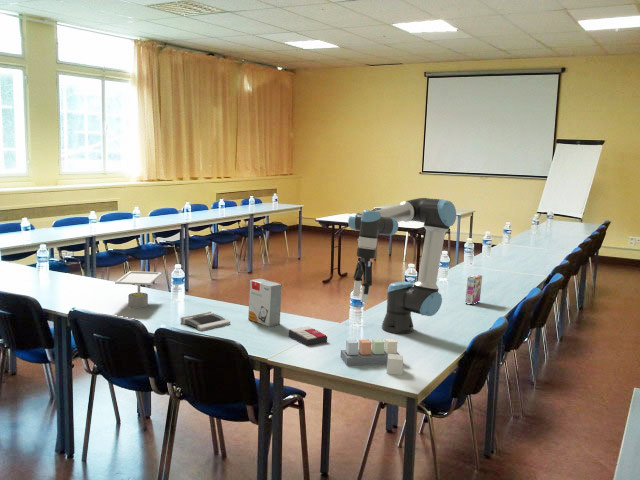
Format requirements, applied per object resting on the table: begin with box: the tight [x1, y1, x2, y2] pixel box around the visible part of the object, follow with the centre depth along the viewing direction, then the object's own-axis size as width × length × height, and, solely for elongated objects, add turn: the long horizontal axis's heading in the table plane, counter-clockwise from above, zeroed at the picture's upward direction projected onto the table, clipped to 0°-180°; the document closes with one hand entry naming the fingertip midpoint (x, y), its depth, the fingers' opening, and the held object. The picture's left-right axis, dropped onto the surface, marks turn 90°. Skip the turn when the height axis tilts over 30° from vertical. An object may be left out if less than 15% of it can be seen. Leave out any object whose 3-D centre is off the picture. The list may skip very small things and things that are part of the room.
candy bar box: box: [465, 274, 483, 304], centre depth 353 cm, size 11×5×16 cm, turn 144°
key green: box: [371, 338, 385, 354], centre depth 246 cm, size 4×4×5 cm
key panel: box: [340, 348, 401, 366], centre depth 246 cm, size 23×10×3 cm, turn 102°
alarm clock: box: [180, 311, 231, 332], centre depth 286 cm, size 17×5×16 cm
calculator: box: [288, 325, 328, 346], centre depth 270 cm, size 11×4×15 cm
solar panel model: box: [114, 270, 163, 309], centre depth 313 cm, size 28×17×15 cm, turn 2°
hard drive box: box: [247, 278, 283, 327], centre depth 293 cm, size 16×8×20 cm, turn 47°
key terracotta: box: [358, 339, 372, 355], centre depth 245 cm, size 4×4×5 cm
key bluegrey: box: [345, 339, 359, 355], centre depth 244 cm, size 4×4×5 cm
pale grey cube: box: [386, 354, 404, 376], centre depth 235 cm, size 6×6×6 cm
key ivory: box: [384, 338, 398, 354], centre depth 247 cm, size 4×4×5 cm
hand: (359, 299), depth 248 cm, fingers open, 13 cm apart
